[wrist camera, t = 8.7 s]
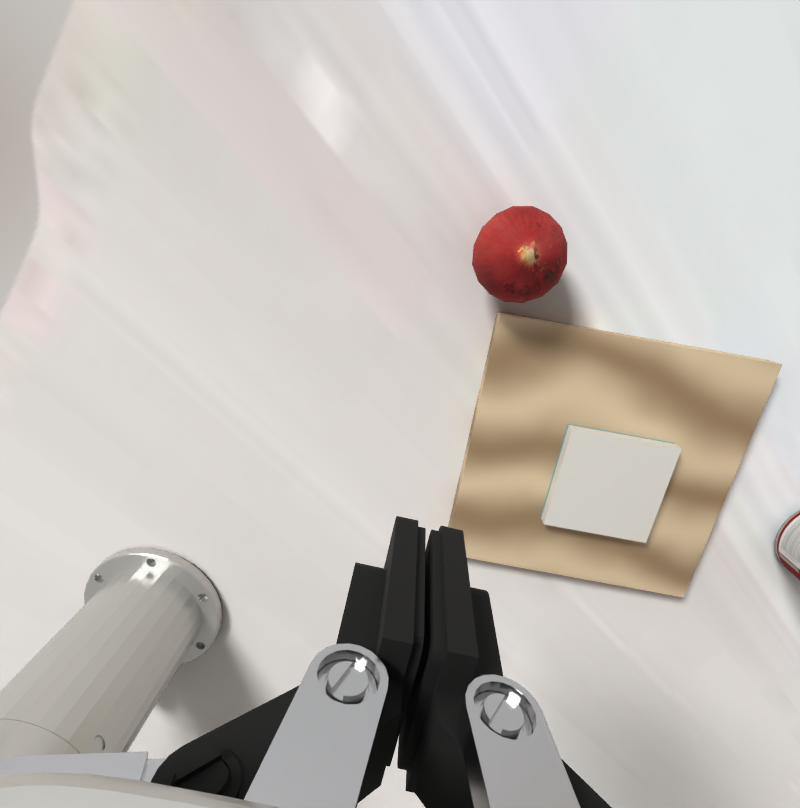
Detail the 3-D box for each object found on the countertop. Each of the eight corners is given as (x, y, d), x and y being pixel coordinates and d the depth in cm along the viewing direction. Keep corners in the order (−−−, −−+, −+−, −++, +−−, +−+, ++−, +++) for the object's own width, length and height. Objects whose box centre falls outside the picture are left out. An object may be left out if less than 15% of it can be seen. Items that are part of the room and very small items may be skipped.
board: (674, 585, 42) (683, 597, 40) (444, 543, 42) (444, 553, 40) (768, 360, 35) (782, 364, 34) (497, 311, 36) (500, 314, 34)
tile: (540, 516, 39) (639, 534, 39) (543, 524, 38) (645, 543, 38) (567, 423, 36) (673, 442, 36) (572, 429, 35) (681, 448, 35)
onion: (569, 255, 34) (608, 257, 27) (506, 314, 36) (526, 331, 28) (514, 192, 33) (538, 175, 26) (452, 254, 35) (457, 256, 27)
